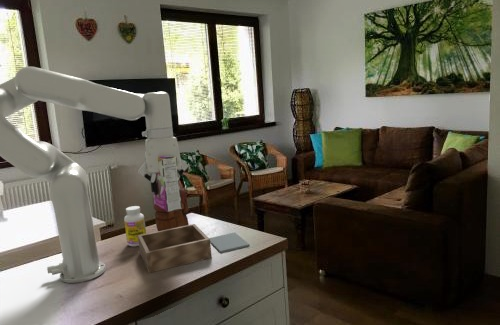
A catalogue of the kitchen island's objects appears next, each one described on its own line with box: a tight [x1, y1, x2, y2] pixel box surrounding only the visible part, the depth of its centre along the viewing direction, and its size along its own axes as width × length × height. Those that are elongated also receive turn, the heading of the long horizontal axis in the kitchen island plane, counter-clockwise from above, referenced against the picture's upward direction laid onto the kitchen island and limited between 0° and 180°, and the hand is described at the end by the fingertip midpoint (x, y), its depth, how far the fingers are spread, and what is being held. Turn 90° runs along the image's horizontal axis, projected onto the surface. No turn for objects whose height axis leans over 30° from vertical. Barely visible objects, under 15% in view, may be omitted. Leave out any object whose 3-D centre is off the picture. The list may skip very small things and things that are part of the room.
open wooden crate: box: [138, 223, 212, 274], centre depth 131 cm, size 19×17×6 cm
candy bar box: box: [152, 155, 182, 212], centre depth 127 cm, size 11×5×16 cm, turn 34°
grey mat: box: [208, 232, 250, 254], centre depth 138 cm, size 10×13×1 cm
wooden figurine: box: [152, 188, 190, 231], centre depth 151 cm, size 12×6×18 cm, turn 125°
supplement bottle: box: [124, 205, 147, 247], centre depth 143 cm, size 7×7×13 cm
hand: (165, 192), depth 127 cm, fingers closed on candy bar box, 5 cm apart
